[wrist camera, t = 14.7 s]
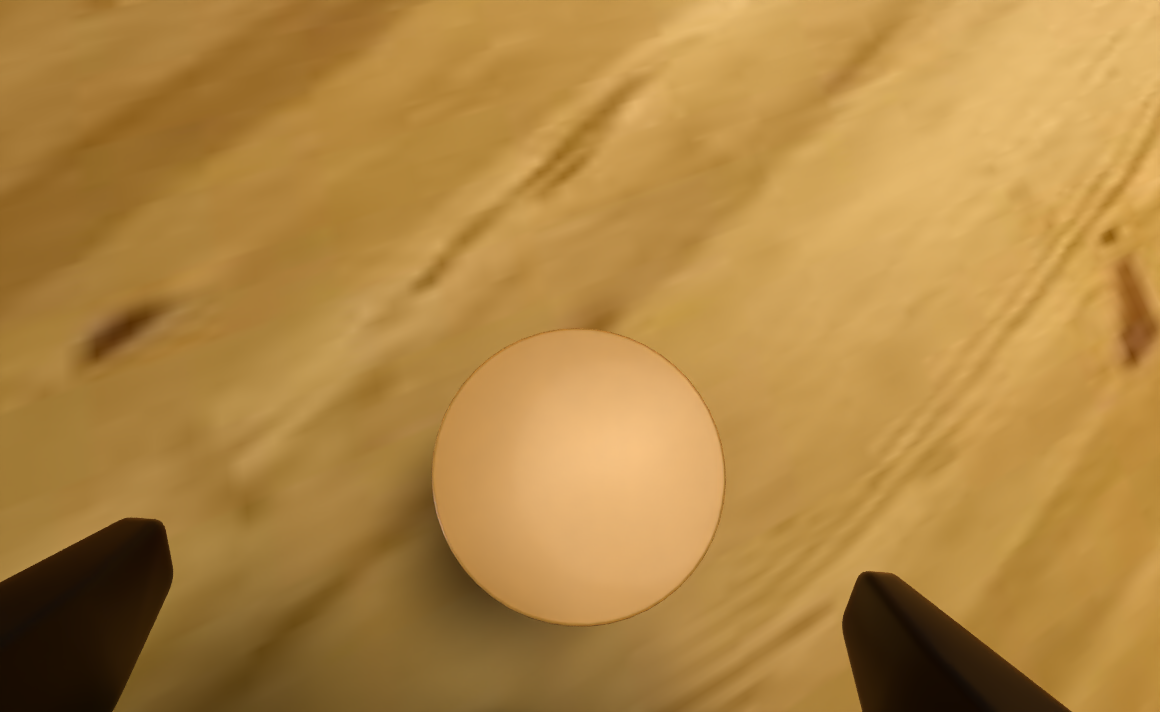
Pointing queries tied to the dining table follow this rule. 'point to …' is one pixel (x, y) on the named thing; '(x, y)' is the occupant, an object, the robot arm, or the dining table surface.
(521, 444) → the tea canister
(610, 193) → the dining table surface
